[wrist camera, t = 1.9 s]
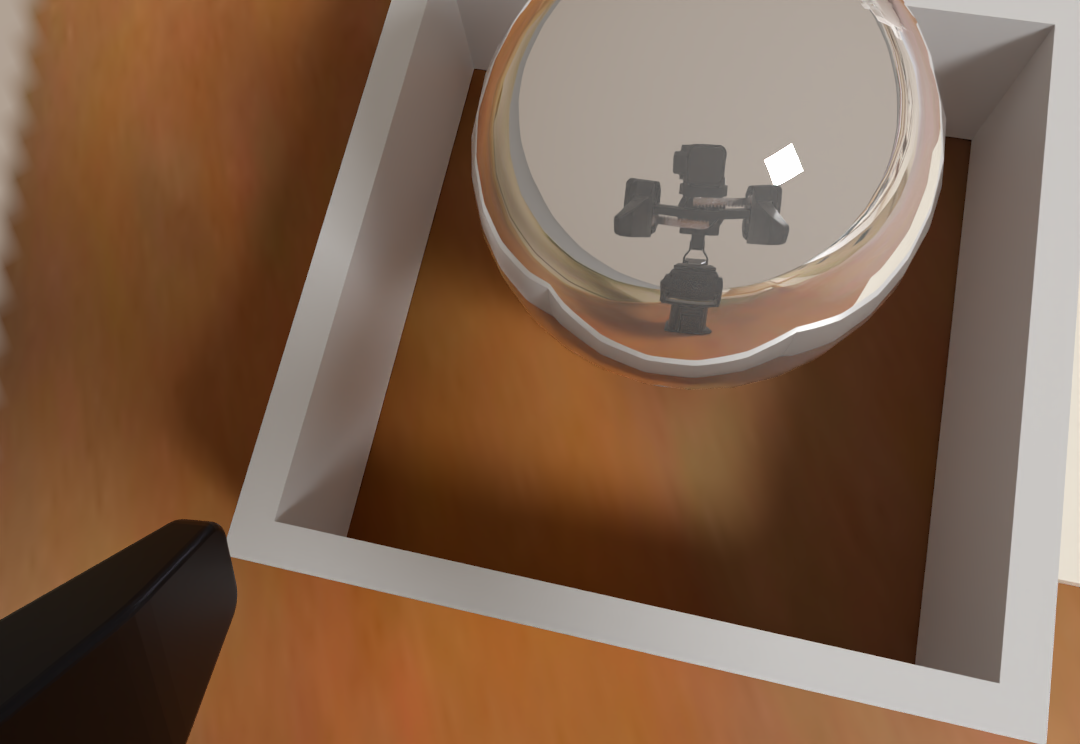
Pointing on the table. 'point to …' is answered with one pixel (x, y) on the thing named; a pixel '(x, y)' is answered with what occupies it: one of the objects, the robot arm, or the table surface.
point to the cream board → (1072, 479)
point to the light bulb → (707, 177)
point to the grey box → (968, 407)
